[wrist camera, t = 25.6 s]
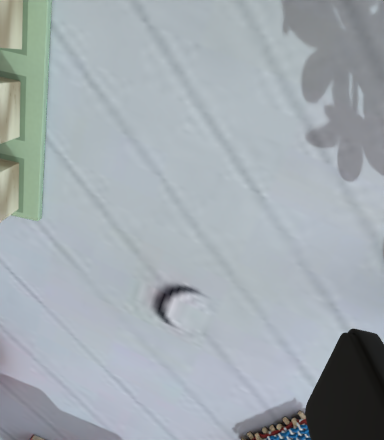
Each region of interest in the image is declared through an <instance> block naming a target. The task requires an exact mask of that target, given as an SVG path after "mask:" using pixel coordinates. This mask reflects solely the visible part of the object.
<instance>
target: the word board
mask: <svg viewBox="0 0 384 440" xmlns="http://www.w3.org/2000/svg"><path fill="white" fill-rule="evenodd" d="M51 4H52V0H23V23H22V49H8V48H0V77H4V78H9V79H13V80H17V81H20V82H21V86H20V137H18V138H15V139H12V140H10V141H7V142H4V143H2V144H0V159H5V160H9V161H13V162H18V163H19V209H18V210H17V211H15V212H14V213H13V214H11V215H13V216H17V217H21V218H26V219H30V220H35V221H39V220H40V219H41V215H42V194H43V173H44V152H45V131H46V110H47V89H48V68H49V46H50V25H51Z"/></svg>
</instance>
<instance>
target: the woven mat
mask: <svg viewBox="0 0 384 440" xmlns="http://www.w3.org/2000/svg"><path fill="white" fill-rule="evenodd" d="M298 415H299V416H300V418H301V419H300V420H298V419H295V418H293V419H291V422H290V421H289V420H288V419H287V418H286V417H284V418H283V422H284V423H285V424H286V426H285V427H284V426H283V425H282V424H278V425H277V427H276V428H277V429H278V430H276V429H275V428H274V426H273V425H271V426H270V428H269V429H270V430H271V431H268V430H267V429H266V428H263V429H262V432H263V433H264V434H265V435H263V434H260V433H256V434H254V435H255V437H254V436H253V435H252V434H251V432H249V433H247V435H248V437H249V438H250V439H251V440H311V438H310V434H309V430H308V426H307V422H306V416H305V415H304V414H303V413H302V412H301V411H299V412H298ZM304 423H305V424H304ZM293 425H294V427H293ZM266 438H268V439H266ZM241 440H246V439H244V438H242V439H241Z"/></svg>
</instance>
